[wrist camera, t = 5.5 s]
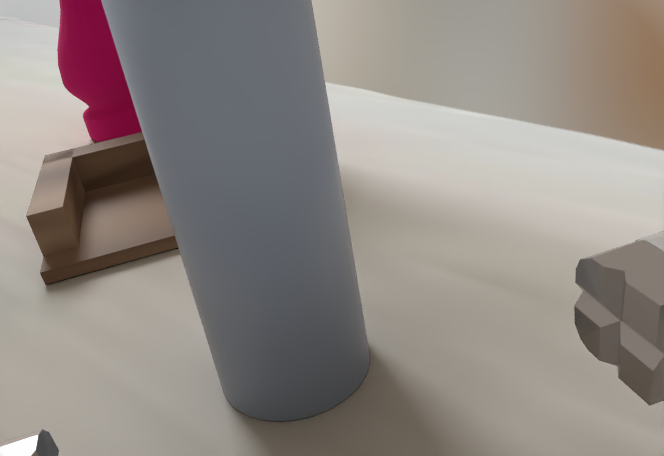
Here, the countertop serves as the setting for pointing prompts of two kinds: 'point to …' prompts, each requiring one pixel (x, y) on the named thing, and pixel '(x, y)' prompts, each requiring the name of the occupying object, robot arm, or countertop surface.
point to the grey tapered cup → (251, 192)
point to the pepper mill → (95, 70)
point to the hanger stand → (98, 208)
